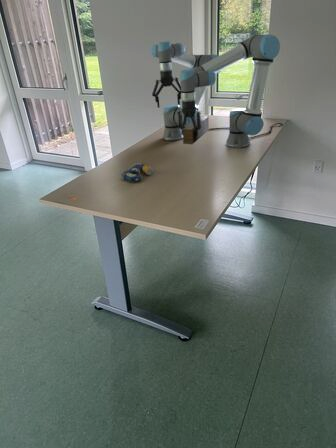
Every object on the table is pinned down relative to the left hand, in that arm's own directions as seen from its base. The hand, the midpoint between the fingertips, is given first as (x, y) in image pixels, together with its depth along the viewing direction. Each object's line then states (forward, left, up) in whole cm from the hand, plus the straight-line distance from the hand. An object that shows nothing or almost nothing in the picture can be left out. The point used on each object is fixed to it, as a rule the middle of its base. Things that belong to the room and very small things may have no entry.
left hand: (168, 106), depth 216 cm
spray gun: (+39, +31, -28) cm, 57 cm away
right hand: (+4, +32, -14) cm, 35 cm away
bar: (-4, +26, -15) cm, 30 cm away
